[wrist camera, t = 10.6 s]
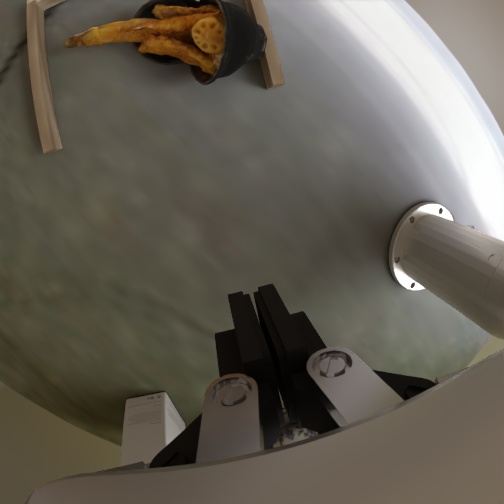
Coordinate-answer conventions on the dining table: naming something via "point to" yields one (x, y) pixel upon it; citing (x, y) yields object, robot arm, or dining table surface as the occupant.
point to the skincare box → (148, 427)
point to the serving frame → (40, 72)
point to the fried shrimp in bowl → (186, 36)
